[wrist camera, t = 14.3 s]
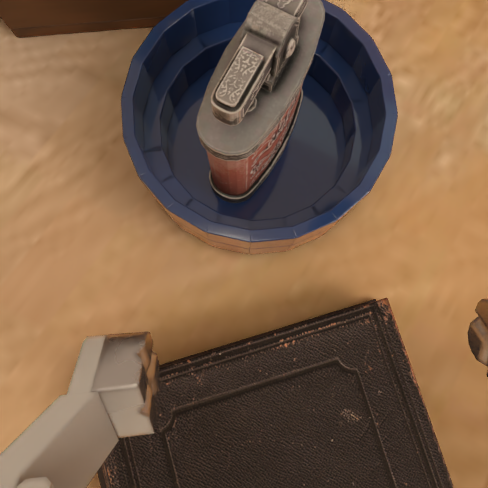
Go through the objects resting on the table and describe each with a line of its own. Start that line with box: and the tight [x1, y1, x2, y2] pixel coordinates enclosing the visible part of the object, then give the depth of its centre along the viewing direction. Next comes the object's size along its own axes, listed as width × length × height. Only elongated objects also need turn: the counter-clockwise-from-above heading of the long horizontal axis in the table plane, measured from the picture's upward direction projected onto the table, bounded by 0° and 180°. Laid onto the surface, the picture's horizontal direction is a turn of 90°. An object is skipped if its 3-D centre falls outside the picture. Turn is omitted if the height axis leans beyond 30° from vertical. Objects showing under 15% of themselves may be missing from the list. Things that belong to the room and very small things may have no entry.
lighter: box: [196, 0, 325, 203], centre depth 20 cm, size 8×3×10 cm, turn 152°
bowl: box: [121, 0, 398, 254], centre depth 23 cm, size 13×13×4 cm
